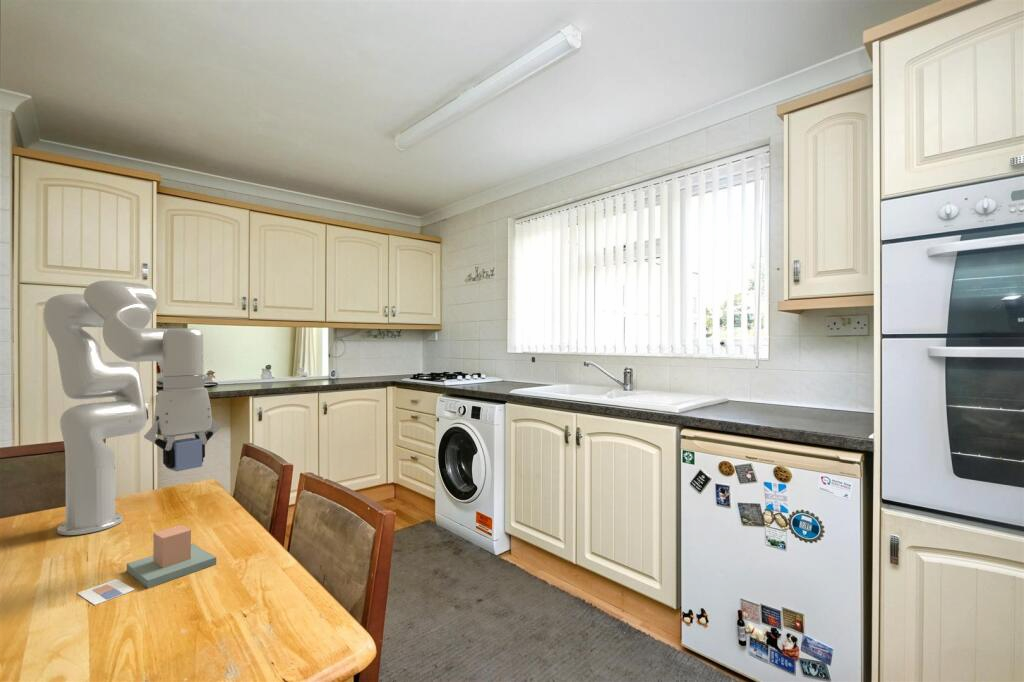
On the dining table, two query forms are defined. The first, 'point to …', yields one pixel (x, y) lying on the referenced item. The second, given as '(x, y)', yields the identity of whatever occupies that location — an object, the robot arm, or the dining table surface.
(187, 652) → the dining table surface
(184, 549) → the brick
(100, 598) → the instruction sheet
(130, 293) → the robot arm
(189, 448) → the brick
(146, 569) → the baseplate
